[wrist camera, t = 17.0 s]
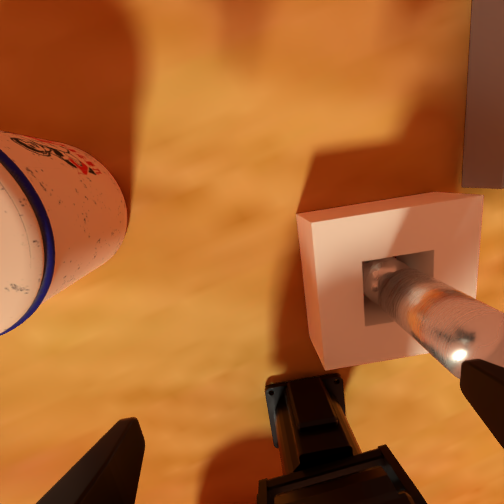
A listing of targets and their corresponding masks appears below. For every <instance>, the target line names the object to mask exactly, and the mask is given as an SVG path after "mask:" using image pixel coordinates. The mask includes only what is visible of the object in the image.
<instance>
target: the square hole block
mask: <svg viewBox="0 0 504 504" xmlns="http://www.w3.org/2000/svg"><path fill="white" fill-rule="evenodd" d="M483 199H484V195H476V194H461V193H446V192H429V193H423V194H417V195H411V196H404V197H398V198H392V199H386V200H379V201H373V202H367V203H361V204H355V205H348V206H342V207H336V208H330V209H323V210H317V211H311V212H305V213H298V214H296V218H297V227H298V236H299V245H300V255H301V264H302V273H303V282H304V292H305V301H306V310H307V319H308V329H309V337H310V339H311V341H312V343H313V346H314V348H315V350H316V352H317V354H318V356H319V359H320V361H321V363H322V365H323V367H324V369H325V371H326V370H332V369H338V368H344V367H349V366H355V365H361V364H367V363H373V362H379V361H385V360H391V359H397V358H403V357H408V356H414V355H420V354H426V353H429V352H428V351H427V350H426V349H424V348H423V347H422V346H421V345H420V344H419V343H418V342H417V341H416V340H414V339H413V338H412V337H411V336H410V335H409V334H408V333H407V332H406V331H405V330H403V329H402V328H401V327H400V326H399V325H398V324H397V323H396V322H395V321H393V320H392V319H391V318H390V317H389V316H388V315H387V314H386V313H385V312H384V311H383V310H382V309H381V307H380V305H378V304H376V303H374V302H373V301H371V300H370V299H369V298H368V297H367V296H363V274H362V261H369V260H375V259H381V258H387V257H393V256H396V259H398V260H400V261H402V262H404V263H405V264H407V265H408V266H409V268H413V269H417V270H419V271H421V272H423V273H425V274H427V275H429V276H431V277H433V278H435V279H437V280H439V281H441V282H443V283H445V284H447V285H449V286H451V287H453V288H455V289H457V290H459V291H461V292H463V293H465V294H467V295H469V296H471V297H473V298H475V299H476V289H477V276H478V263H479V250H480V237H481V224H482V212H483Z"/></svg>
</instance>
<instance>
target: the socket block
mask: <svg viewBox="0 0 504 504" xmlns="http://www.w3.org/2000/svg"><path fill="white" fill-rule="evenodd" d="M462 187H467V188H492V189H504V0H472V12H471V30H470V48H469V66H468V84H467V102H466V119H465V137H464V155H463V173H462Z"/></svg>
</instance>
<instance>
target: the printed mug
mask: <svg viewBox="0 0 504 504" xmlns="http://www.w3.org/2000/svg"><path fill="white" fill-rule="evenodd" d="M126 228H127V209H126V204H125V200H124V197H123V194H122V192H121V189H120V187H119V186H118V184H117V182H116V181H115V179H114V177H113V176H112V175H111V174H110V172H109V171H108V170H107V169H106V168H105V167H104V166H103V165H102V164H101V163H100V162H99V161H98V160H96V159H95V158H94V157H92V156H91V155H89V154H88V153H86V152H84V151H82V150H80V149H78V148H76V147H73V146H70V145H67V144H64V143H59V142H54V141H49V140H44V139H39V138H34V137H30V136H25V135H20V134H15V133H10V132H5V131H0V335H3V334H5V333H7V332H9V331H11V330H13V329H14V328H16V327H17V326H19V325H20V324H22V323H23V322H24V321H25V320H26V319H28V318H29V317H30V316H31V315H32V314H33V313H34V312H35V311H36V309H37V308H38V307H39V305H40V304H42V303H44V302H45V301H47V300H48V299H50V298H51V297H53V296H54V295H56V294H57V293H59V292H61V291H62V290H64V289H65V288H67V287H68V286H70V285H71V284H73V283H75V282H76V281H78V280H79V279H81V278H82V277H84V276H85V275H87V274H88V273H90V272H92V271H93V270H95V269H96V268H98V267H99V266H101V265H102V264H104V263H105V262H107V261H108V260H109V259H110V258H111V257H112V256H113V255H114V254H115V253H116V251H117V250H118V249H119V247H120V245H121V244H122V241H123V239H124V236H125V233H126Z"/></svg>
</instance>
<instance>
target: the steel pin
mask: <svg viewBox="0 0 504 504" xmlns="http://www.w3.org/2000/svg"><path fill="white" fill-rule="evenodd" d="M362 274H363V293H364V294H365V295H366V296H367V297H368V298H369V299H370V300H371V301H373V302H374V303H376V304H378V305H380V307H381V309H382V310H383V311H384V312H385V313H386V314H387V315H388V316H389V317H390V318H391V319H392V320H393V321H395V322H396V323H397V324H398V325H399V326H400V327H401V328H402V329H403V330H405V331H406V332H407V333H408V334H409V335H410V336H411V337H412V338H413V339H414V340H416V341H417V342H418V343H419V344H420V345H421V346H422V347H423V348H424V349H426V350H427V351H428V352H429V353H430V354H431V355H432V356H433V357H434V358H436V359H437V360H438V361H439V362H440V363H441V364H442V365H443V366H444V367H445V368H447V369H448V370H449V371H450V372H451V373H452V374H453V375H454V376H456V377H457V378H459V379H460V374H461V364H462V362H463V361H465V360H471V359H482V360H485V361H487V362H490V363H493V364H496V365H498V366H501V367H504V313H503V312H501V311H499V310H497V309H495V308H493V307H491V306H489V305H487V304H485V303H483V302H481V301H479V300H477V299H475V298H473V297H471V296H469V295H467V294H465V293H463V292H461V291H459V290H457V289H455V288H453V287H451V286H449V285H447V284H445V283H443V282H441V281H439V280H437V279H435V278H433V277H431V276H429V275H427V274H425V273H423V272H421V271H419V270H417V269H413V268H409V266H408V265H407V264H405V263H404V262H402V261H400V260H398V259H396V258H394V257H387V258H381V259H375V260H369V261H362Z"/></svg>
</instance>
